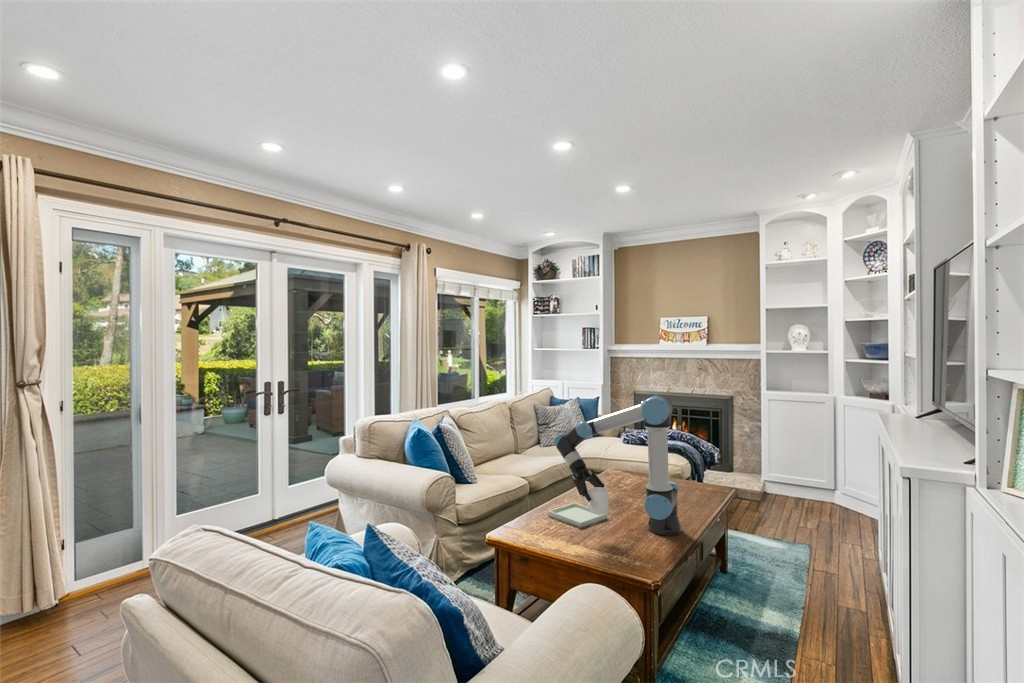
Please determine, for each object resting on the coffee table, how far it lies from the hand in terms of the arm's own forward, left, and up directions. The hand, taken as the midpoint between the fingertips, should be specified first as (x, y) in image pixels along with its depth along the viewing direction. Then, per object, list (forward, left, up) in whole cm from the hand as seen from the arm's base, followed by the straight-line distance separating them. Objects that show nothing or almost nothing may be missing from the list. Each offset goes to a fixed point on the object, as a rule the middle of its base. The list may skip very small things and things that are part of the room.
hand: (601, 504), depth 231 cm
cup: (+3, 0, -4) cm, 5 cm away
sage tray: (+24, -11, -15) cm, 31 cm away
